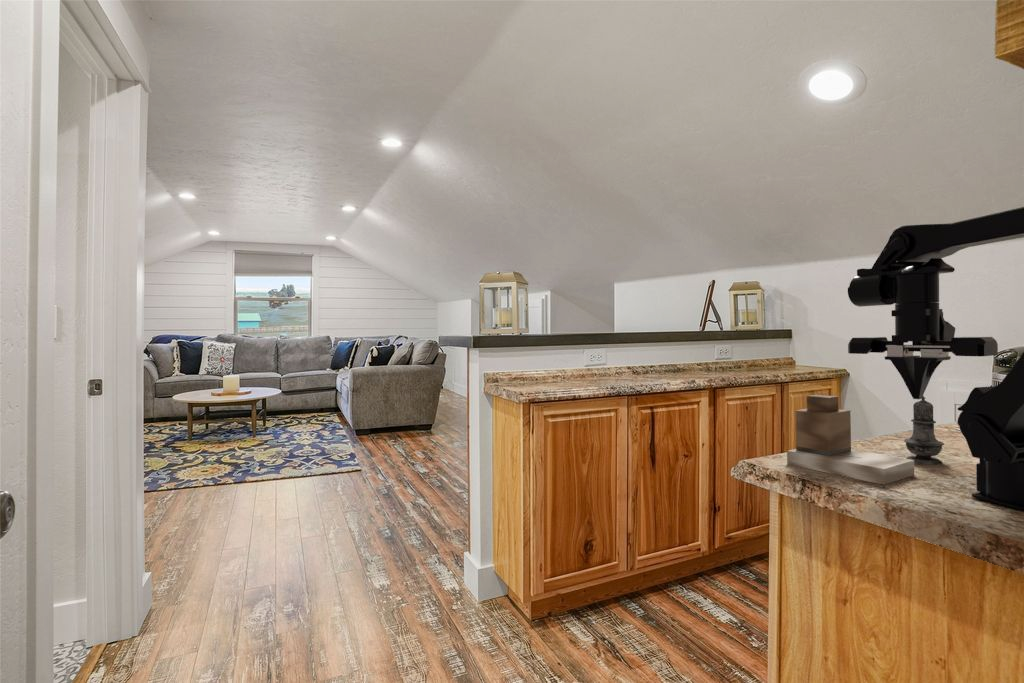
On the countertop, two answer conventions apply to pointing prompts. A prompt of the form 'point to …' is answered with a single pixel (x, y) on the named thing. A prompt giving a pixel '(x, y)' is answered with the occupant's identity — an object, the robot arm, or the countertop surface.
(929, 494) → the countertop surface
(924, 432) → the salt shaker
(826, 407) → the brown square jar
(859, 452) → the board
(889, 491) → the countertop surface
